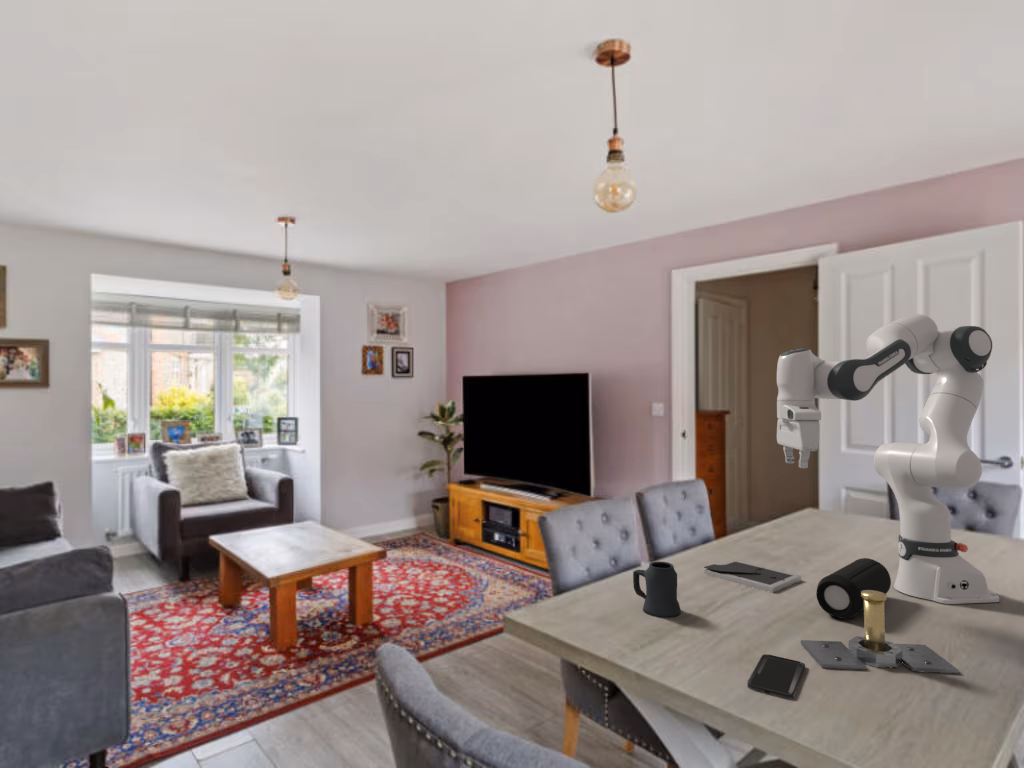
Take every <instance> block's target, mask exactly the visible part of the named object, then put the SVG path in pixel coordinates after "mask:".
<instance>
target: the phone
mask: <svg viewBox="0 0 1024 768" xmlns="http://www.w3.org/2000/svg"><path fill="white" fill-rule="evenodd" d="M804 670H806V663H804V662H802V661H799V660H795V659H790V658H785V657H783V656H782V657H781V656H777V655H772V654H765V653H764V654H762V655H761V656H760V658H759V660H758V662H757V664H756V666H755V667H754V669H753V670H752V672H751V674H750V676H749V678H748V679H747V688H748V689H749V690H751V691H755V692H759V693H763V694H767V695H770V696H774V697H778V698H781V699H786V700H792V699H795V696H796V694H797V691H798V689H799V685H800V683H801V681H802V679H803V675H804V674H805V671H804Z"/></svg>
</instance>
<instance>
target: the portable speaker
mask: <svg viewBox="0 0 1024 768" xmlns="http://www.w3.org/2000/svg"><path fill="white" fill-rule="evenodd" d="M891 585H892V581H891V575H890V573H889V571H888V569H887V568H886V567H885V565H883V564H882V563H881V562H879V561H877V560H874V559H872V558H867V557H864V558H863V557H862V558H858V559H856V560H854V561H853V562H851V563H849V564H847V565H845V566H843V567H841V568H840V569H837V570H836V571H834V572H832V573H830V574H828V575H826V576H824V577H823V578H821V579H820V581H818V584H817V587H816V593H815V594H816V599H817V602H818V604H819V606H820V607H821V609H822V610H824V612H826V613H827V614H828V615H831V616H833V617H836V618H840V619H850V618H853V617H854V616H856V615H858V614H859V613H860V612H862V611H864V598H862V597H861V591H863V590H874V591H879V592H882V593H885V594H886V595H887V593H888V592H889V590H890V589H891Z"/></svg>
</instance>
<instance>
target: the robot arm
mask: <svg viewBox="0 0 1024 768" xmlns="http://www.w3.org/2000/svg"><path fill="white" fill-rule="evenodd" d="M938 328H939V327H938V326H937V324H936V321H934V320H933V319H932V318H931V317H930V316H928V315H924V314H921V313H919V314H911V315H906V316H904V317H901V318H898V319H896V320H894V321H891V322H889V323H886V324H885V325H883V326H881V327H879V328H877V329H876V330H874V331H873V332H871V334H870V335H869V336H868V337H867V339H866V344H865V348H866V353H867V355H868V356H867V357H864V358H863V359H860V358H858V359H857V358H855V359H846V360H838V361H837V360H836V361H835V360H834V361H826V360H825V359H824V360H823V359H821V358H819V357H818V356H816V355H815V354H814V353H813V352H812V350H811V349H810V348H797V349H792V350H791V349H790V350H786V351H784V352H782V353H781V354H780V355H779V357H778V359H777V363H776V365H777V367H776V385H777V388H778V390H777V392H778V393H777V398H776V418H777V424H776V442H777V444H778V445H781V446H783V452H784V453H783V454H784V456H785V464H789V465H790V464H794V463H795V456H794V452H793V451H794V449H795V450H798V454H799V460H798V461H797V463H798V468H800V469H808V467H809V465H808V464H809V459H810V456H811V452H817V450H819V445H820V423H819V421H821V420H822V412H821V410H820V409H818V408H817V406H816V401H815V400H816V399H821V400H823V399H824V400H825V399H827V400H846V401H854V402H855V401H860V400H863V399H864V398H865V397H867V396H868V395H869V394H870V392H871V391H872V390H873V389H874V387H875V386H877V384H878V383H879V382H880V381H882V380H883V379H885V378H886V377H887V376H889V375H890V374H892V373H894V372H895V371H897V370H898V369H899V368H901V367H902V366H903V365H905V366H906V367H907V368H908V369H909V370H910V371H911V372H913V373H915V374H920V375H931V374H934V373H935V374H936V383H935V385H934V387H933V389H932V390H931V392H930V393H929V395H928V398H927V400H926V403H925V405H924V407H923V408H922V411H921V412H920V415H919V417H918V422H919V423H918V424H919V426H920V428H921V430H922V431H923V432H924V433H925V434H926V435H927V436H929V437H930V438H929V440H927V442H926V443H920V442H919V443H918V442H905V441H899V442H897V441H896V442H890V443H889V442H888V443H882V444H880V446H879V447H878V448H877V449H876V450H875V452H874V454H873V461H872V462H873V466H874V469H875V471H876V472H877V474H878V475H879V476H880V477H882V478H883V479H884V480H885V481H886V482H887V484H888V485H889V487H890V489H891V490H892V492H893V494H894V497H895V500H896V502H897V506H898V512H899V527H900V529H899V530H900V534H899V535H898V541H897V542H898V546H897V548H898V549H897V550H898V556H899V562H898V568H897V569H898V570H897V574H896V578H895V581H894V583H893V588H894V589H895V590H896V591H898V592H900V593H903V594H905V595H908V596H912V597H915V598H920V599H925V600H929V601H932V602H933V601H934V602H937V603H940V604H945V605H957V604H958V605H959V604H962V605H963V604H983V603H984V604H985V603H986V604H987V603H1000V597H999V595H998V594H996V592H994V591H993V590H990V589H989V587H988V582H987V579H986V576H985V575H984V573H983V572H982V570H980V569H979V568H977V567H975V565H973V564H972V563H970V562H969V561H967V559H965V558H964V557H962V555H960V554H959V552H961V553H967V551H969V547H968V545H966V544H965V543H963V542H956V541H954V540H953V539H952V515H951V512H950V509H949V508H948V506H946V505H945V504H944V503H942V502H941V501H939V500H938V499H937V497H935V495H934V493H933V492H932V489H931V488H938V489H946V490H962V489H963V490H964V489H970V488H972V487H974V486H975V485H977V484H978V482H979V481H980V480H981V477H982V474H983V466H982V463H981V459H980V458H979V456H978V455H977V454H976V453H975V452H974V451H972V450H971V448H970V446H969V444H968V433H969V430H970V428H971V425H972V422H973V420H974V418H975V414H976V412H977V410H978V408H979V406H980V403H981V398H982V395H983V390H984V380H983V377H982V375H981V374H979V372H980V371H982V370H983V369H984V368H985V367H986V366H987V365H988V364H987V363H988V361H989V359H990V357H991V354H992V350H993V341H992V337H991V336H990V334H989V333H988V331H986V330H985V329H984V328H982V327H980V326H976V325H964V326H962V325H961V326H959V327H957V328H951V329H944V330H939V329H938Z"/></svg>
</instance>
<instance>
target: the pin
mask: <svg viewBox="0 0 1024 768" xmlns="http://www.w3.org/2000/svg"><path fill="white" fill-rule="evenodd" d="M861 597H862V598H864V609H863V621H864V623H863V626H864V628H863V631H864V637H865V648H867V649H870V650H873V651H883V652H885V640H886V630H885V627H886V625H885V622H886V621H885V620H886V619H885V618H886V617H885V602H886V601H887V600H888V599H887V598H888V596H887V593H886V594H885V593H882V592H879V591H874V590H863V591H861Z"/></svg>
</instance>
